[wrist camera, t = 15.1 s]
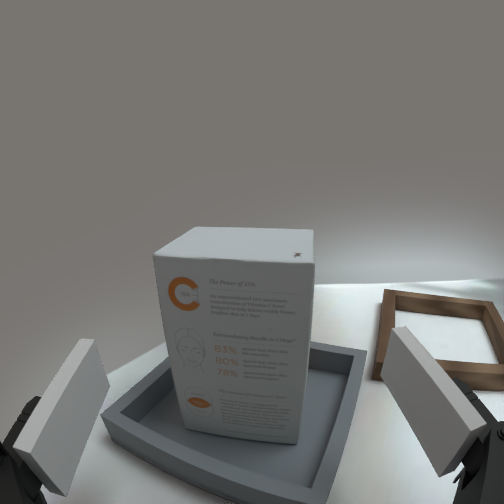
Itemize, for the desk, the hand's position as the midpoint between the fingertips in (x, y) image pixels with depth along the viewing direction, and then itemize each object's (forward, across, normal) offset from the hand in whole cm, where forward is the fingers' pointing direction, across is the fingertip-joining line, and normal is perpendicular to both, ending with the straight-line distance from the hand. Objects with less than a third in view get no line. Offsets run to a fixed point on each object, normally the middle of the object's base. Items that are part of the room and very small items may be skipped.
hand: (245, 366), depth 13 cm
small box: (+6, 0, -9) cm, 11 cm away
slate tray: (+6, 0, -10) cm, 12 cm away
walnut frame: (+12, +22, -10) cm, 27 cm away
